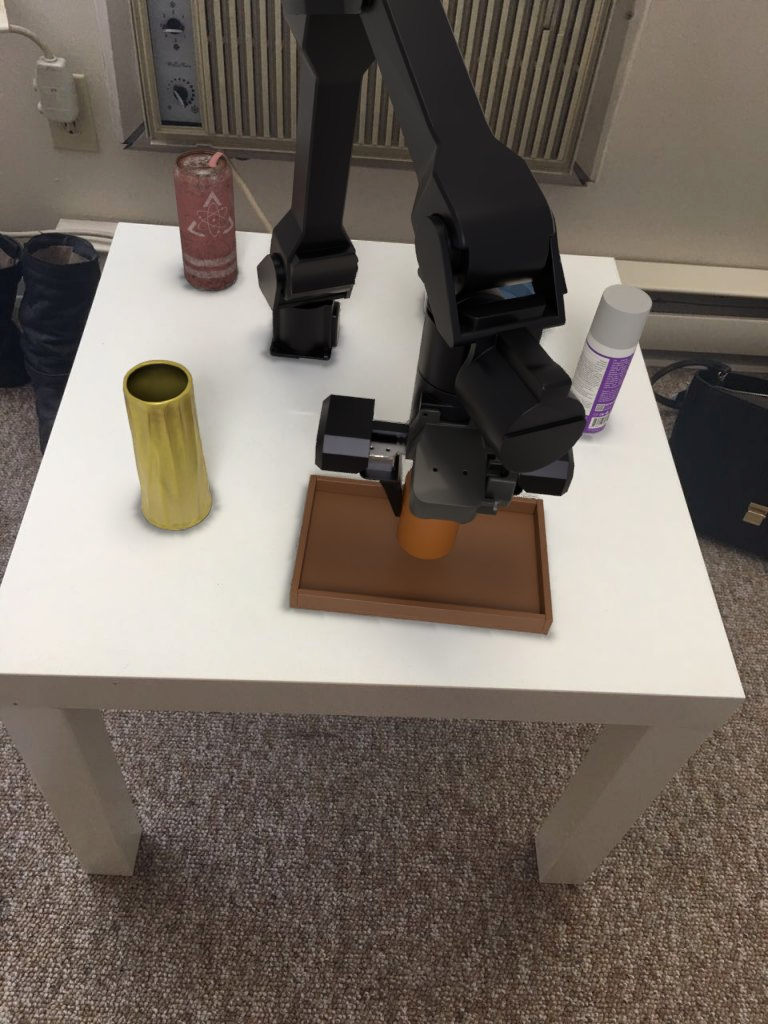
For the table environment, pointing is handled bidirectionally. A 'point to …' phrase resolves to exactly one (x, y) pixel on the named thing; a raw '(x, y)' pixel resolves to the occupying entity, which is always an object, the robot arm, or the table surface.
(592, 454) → the table surface
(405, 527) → the bottle
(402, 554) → the tray
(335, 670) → the table surface
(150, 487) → the vase
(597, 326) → the container
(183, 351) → the table surface
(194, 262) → the can
